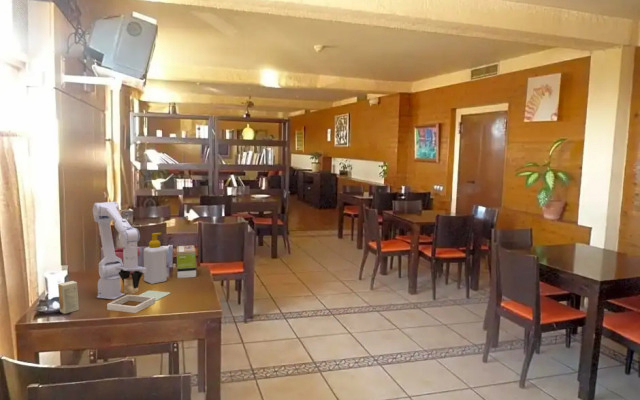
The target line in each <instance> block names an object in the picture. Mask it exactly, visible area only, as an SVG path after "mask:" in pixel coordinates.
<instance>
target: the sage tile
mask: <svg viewBox="0 0 640 400" xmlns="http://www.w3.org/2000/svg"><path fill="white" fill-rule="evenodd" d="M171 294H172V293H171V292H169V291H158V290H157V291H156V290H146V291H145V292H142V293H140V294H139V295H138V296H147V297H155V302H157V301H159V300H161V299H164V298H165V297H167V296H169V295H171Z"/></svg>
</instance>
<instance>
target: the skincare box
mask: <svg viewBox="0 0 640 400" xmlns="http://www.w3.org/2000/svg"><path fill="white" fill-rule="evenodd" d="M57 285H58V286H57V288H58V300H59V301H58V302H59V312H60V313H62V314H64V315H65V314H69V313H72V312H76V311H79V310H80V308H79V306H80V305H79V293H78V291H79V290H78V282H77V281H74V280H70V281H64V282H61V283H58V284H57Z"/></svg>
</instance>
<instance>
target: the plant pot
mask: <svg viewBox="0 0 640 400" xmlns="http://www.w3.org/2000/svg"><path fill="white" fill-rule="evenodd" d="M114 249H115V255H116V256H117V257H119V258H121V259H122V263H123V265H124V260H123V247H120V248H114ZM137 252H138V258H140V255H141V251H140V249H139V248H138V247H137ZM131 273H134V272H133V271H130V275H131Z"/></svg>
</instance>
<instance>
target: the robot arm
mask: <svg viewBox="0 0 640 400" xmlns="http://www.w3.org/2000/svg"><path fill="white" fill-rule="evenodd" d="M92 206H93V207H92V215H93V220H94V222H96V223H97V224H98V230H99V235H100V241H101V247H102V253H103V258H102V259H101V260H100V261H99V263H98V275H99V277H100V278H99V279H98V280H97V295H96V298H99V299H106V300H107V299H108V300H117V299H119V298H122V297H124V296H126V293H124V292H122V287H121V281H122V282H123V284H124V279H126V278H129V277H132V278H133V287H134V289H135V288H138V289H139V284H140V281H141V279H142V276H143V275H144V273H145V272H147V268H145V267H144V266H140V265H139V262H138V261H139V260H138V259H139V257H138V252H137V248H138V242H139V241H140V240H141V234H140V231H139V228H136V227H133V226H132V225H131V224H130V222H129V221H128V220H127V219H125V218H123V217H122V215H121V213H120V208H119V204H118V202H117V201H105V202H94V204H93V205H92ZM111 222H113V223H114V228H115V230H116V231H117V232H118V234H119V235H120V236H119V239H120V242H121V246H122V247H121V248H123V260H124V265H123V263H122V259H121V258H119V257H117V256H116V255H115V249H116V248H115V245H114V239H113V233H112V228H111ZM130 271H133V272H134V273H131V274H130ZM130 275H131V276H130Z"/></svg>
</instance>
